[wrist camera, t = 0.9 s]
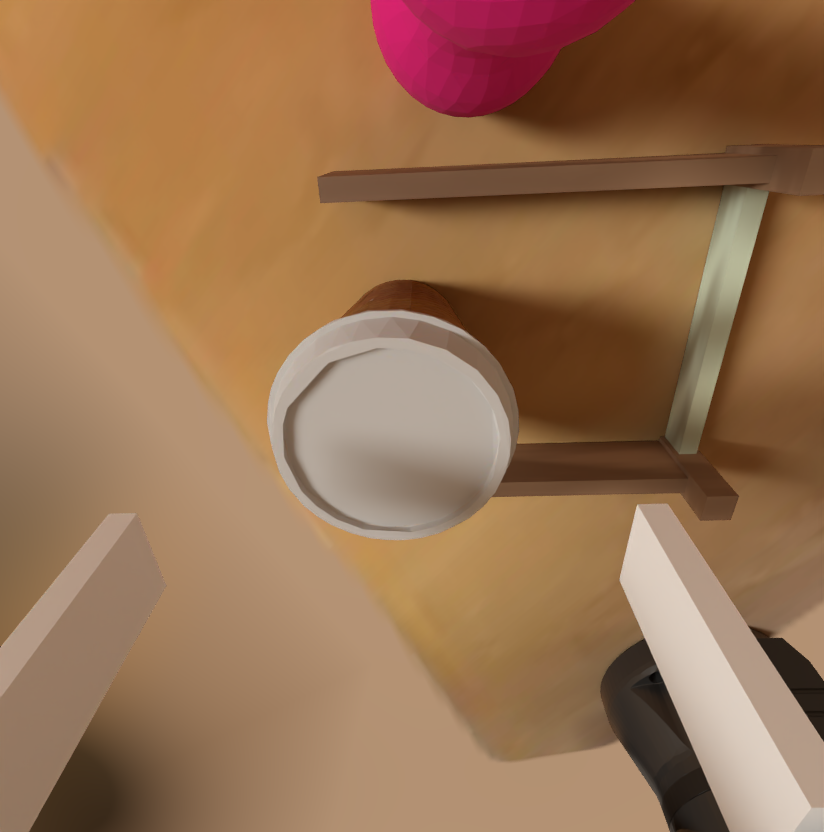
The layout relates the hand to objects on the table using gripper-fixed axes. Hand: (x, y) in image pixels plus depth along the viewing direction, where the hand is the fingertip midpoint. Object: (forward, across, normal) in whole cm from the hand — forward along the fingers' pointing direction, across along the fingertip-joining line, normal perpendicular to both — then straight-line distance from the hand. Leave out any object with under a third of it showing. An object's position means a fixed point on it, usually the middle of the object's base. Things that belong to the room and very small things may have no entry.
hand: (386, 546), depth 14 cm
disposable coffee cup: (+17, 0, 0) cm, 17 cm away
